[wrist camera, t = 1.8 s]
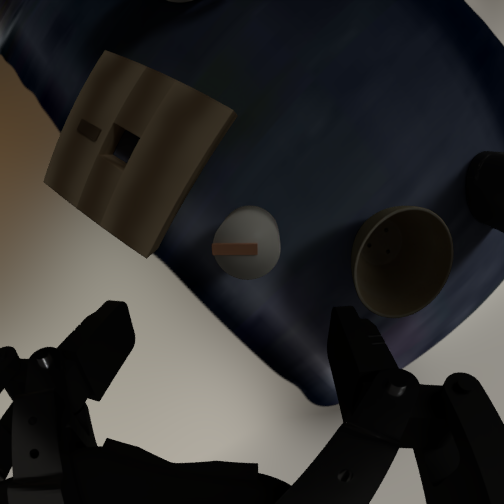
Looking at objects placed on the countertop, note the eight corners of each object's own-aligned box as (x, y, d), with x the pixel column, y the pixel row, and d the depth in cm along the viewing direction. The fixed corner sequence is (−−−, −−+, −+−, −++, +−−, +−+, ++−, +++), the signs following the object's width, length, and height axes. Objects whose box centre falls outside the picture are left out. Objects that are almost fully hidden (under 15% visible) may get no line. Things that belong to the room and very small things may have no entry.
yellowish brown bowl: (320, 217, 27) (337, 237, 20) (404, 180, 25) (441, 189, 18) (351, 298, 29) (370, 335, 22) (425, 263, 27) (458, 289, 21)
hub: (237, 115, 24) (233, 109, 21) (157, 249, 29) (145, 259, 26) (118, 57, 22) (103, 49, 19) (59, 178, 27) (41, 182, 24)
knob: (277, 198, 26) (280, 215, 18) (277, 246, 28) (280, 280, 20) (227, 199, 27) (209, 216, 19) (229, 246, 28) (214, 280, 20)
